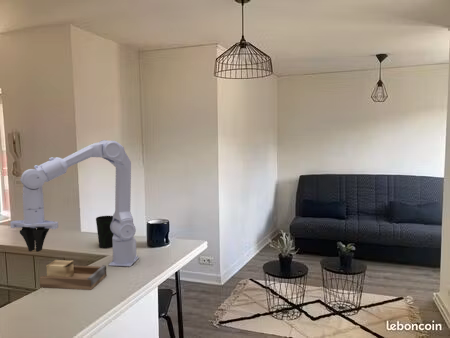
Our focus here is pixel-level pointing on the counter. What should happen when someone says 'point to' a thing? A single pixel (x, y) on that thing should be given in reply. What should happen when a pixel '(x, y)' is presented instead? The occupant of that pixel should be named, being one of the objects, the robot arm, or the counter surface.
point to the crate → (60, 268)
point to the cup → (104, 231)
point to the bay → (76, 278)
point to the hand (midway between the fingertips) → (35, 250)
